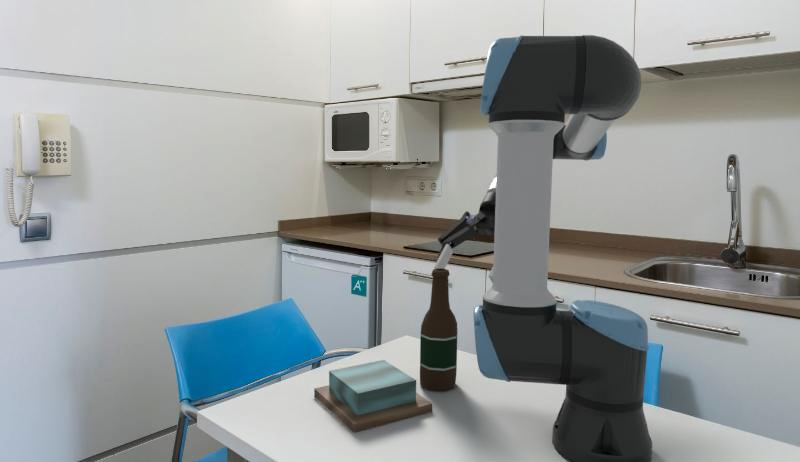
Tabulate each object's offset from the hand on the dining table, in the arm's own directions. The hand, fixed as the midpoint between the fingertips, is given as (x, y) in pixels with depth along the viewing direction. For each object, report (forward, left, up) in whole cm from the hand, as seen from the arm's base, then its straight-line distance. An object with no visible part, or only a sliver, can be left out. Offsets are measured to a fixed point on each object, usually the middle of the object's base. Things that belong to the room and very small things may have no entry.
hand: (463, 275), depth 121 cm
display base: (-4, +25, -21) cm, 33 cm away
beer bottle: (-3, +9, -21) cm, 23 cm away
